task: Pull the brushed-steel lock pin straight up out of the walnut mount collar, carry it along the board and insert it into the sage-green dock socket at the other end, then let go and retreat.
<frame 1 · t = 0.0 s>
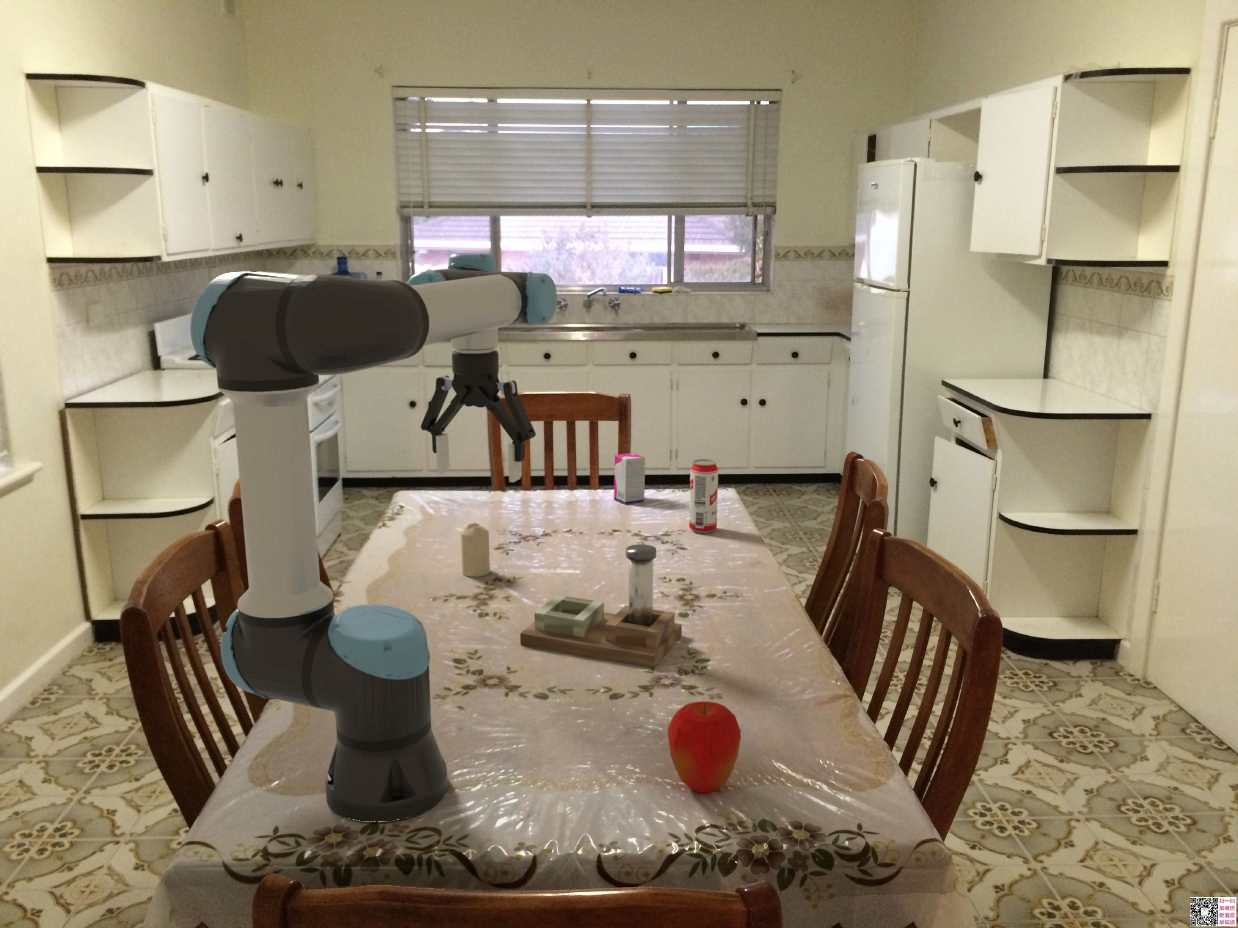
hand: (478, 476, 177), 28 cm above the table, fingers open, 13 cm apart
supplement box: (629, 501, 265), on the table
apple: (702, 787, 137), on the table
candle: (476, 573, 213), on the table
lock pin: (640, 635, 178), point 2 cm above the table, touching socket board
beer can: (702, 531, 241), on the table
socket board: (601, 639, 181), on the table
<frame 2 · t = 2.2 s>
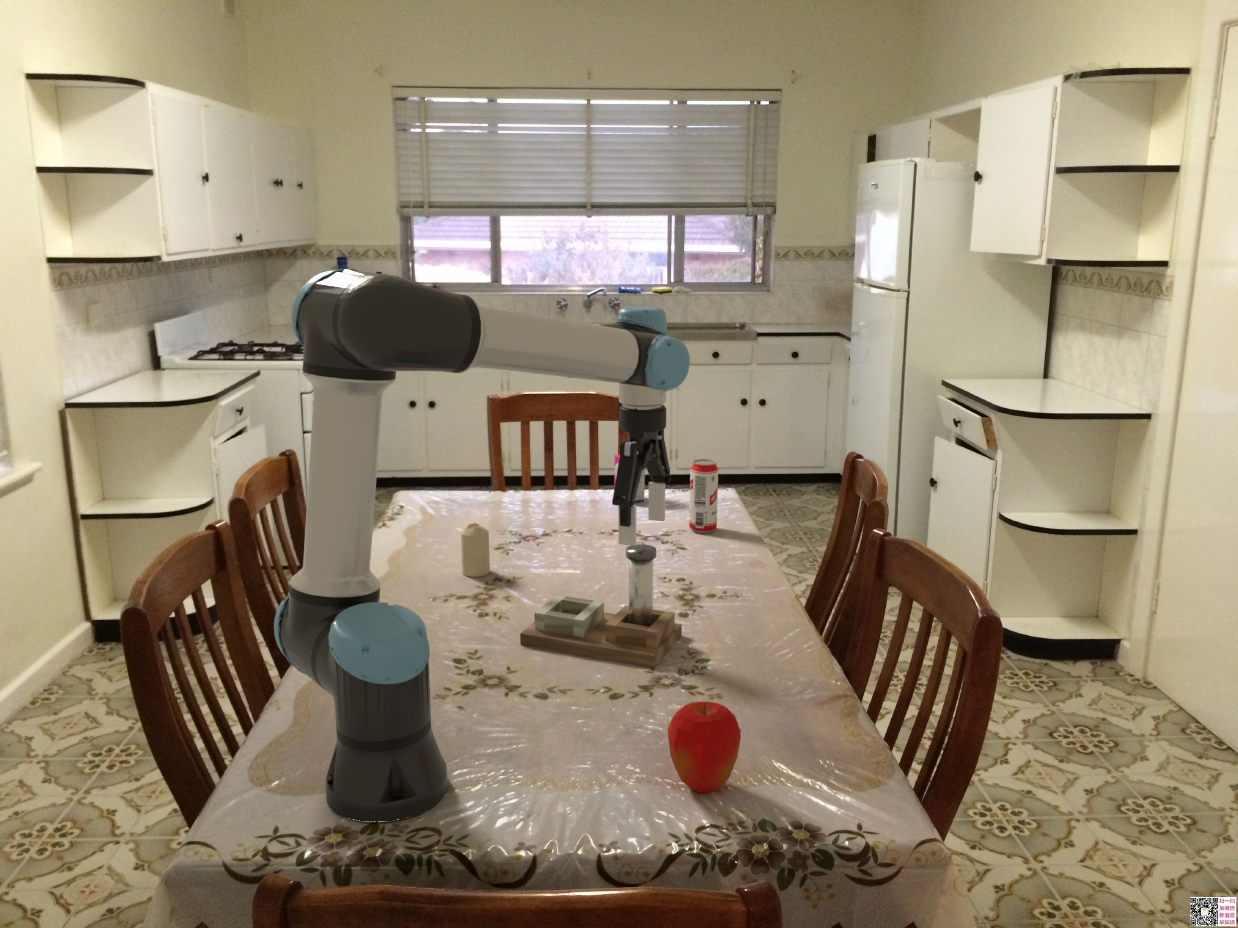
hand: (642, 531, 174), 20 cm above the table, fingers open, 13 cm apart
nothing on the table moved.
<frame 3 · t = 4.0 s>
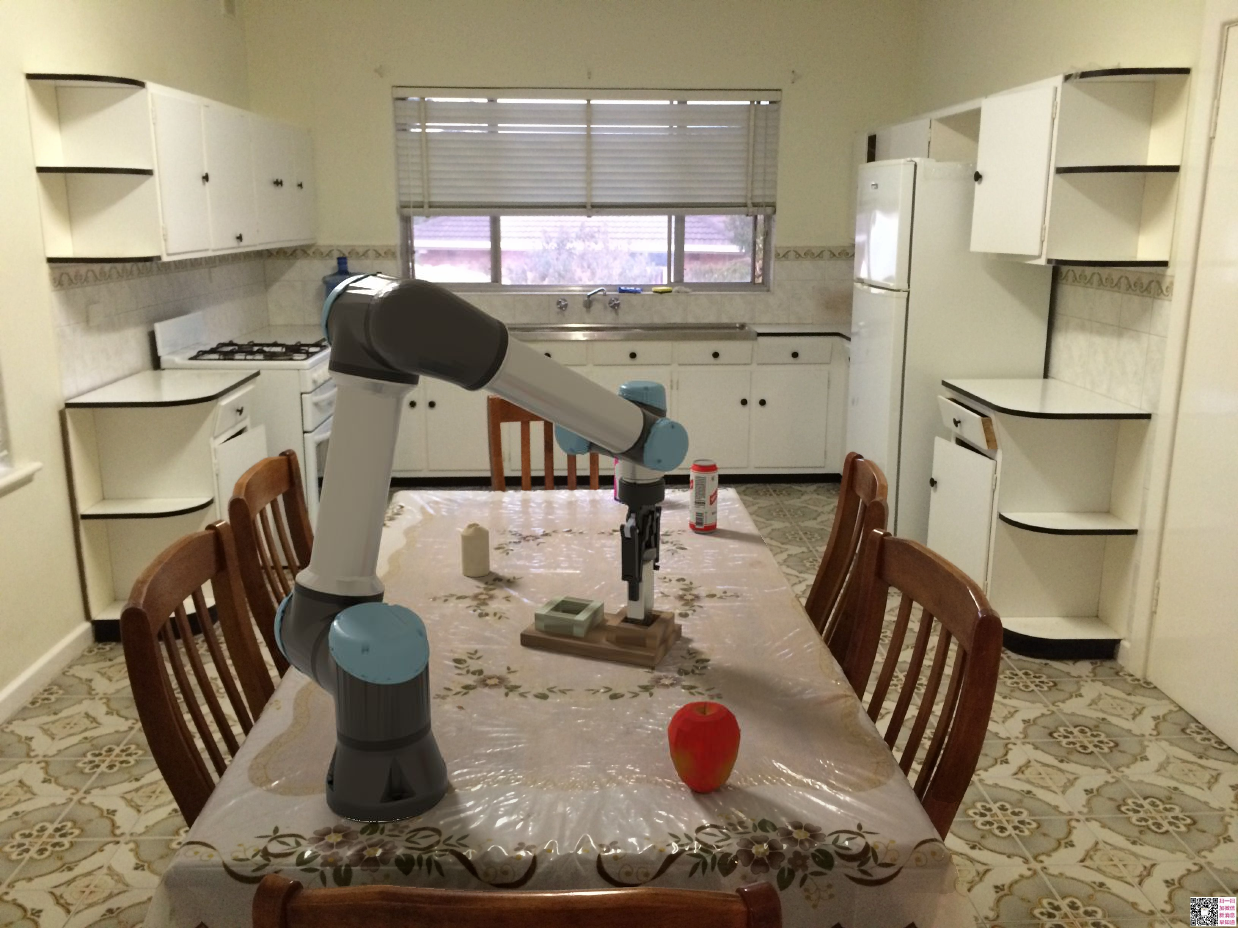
hand: (640, 612, 177), 6 cm above the table, fingers closed on lock pin, 4 cm apart
lock pin: (640, 635, 178), point 2 cm above the table, touching gripper, socket board
everything else where it was.
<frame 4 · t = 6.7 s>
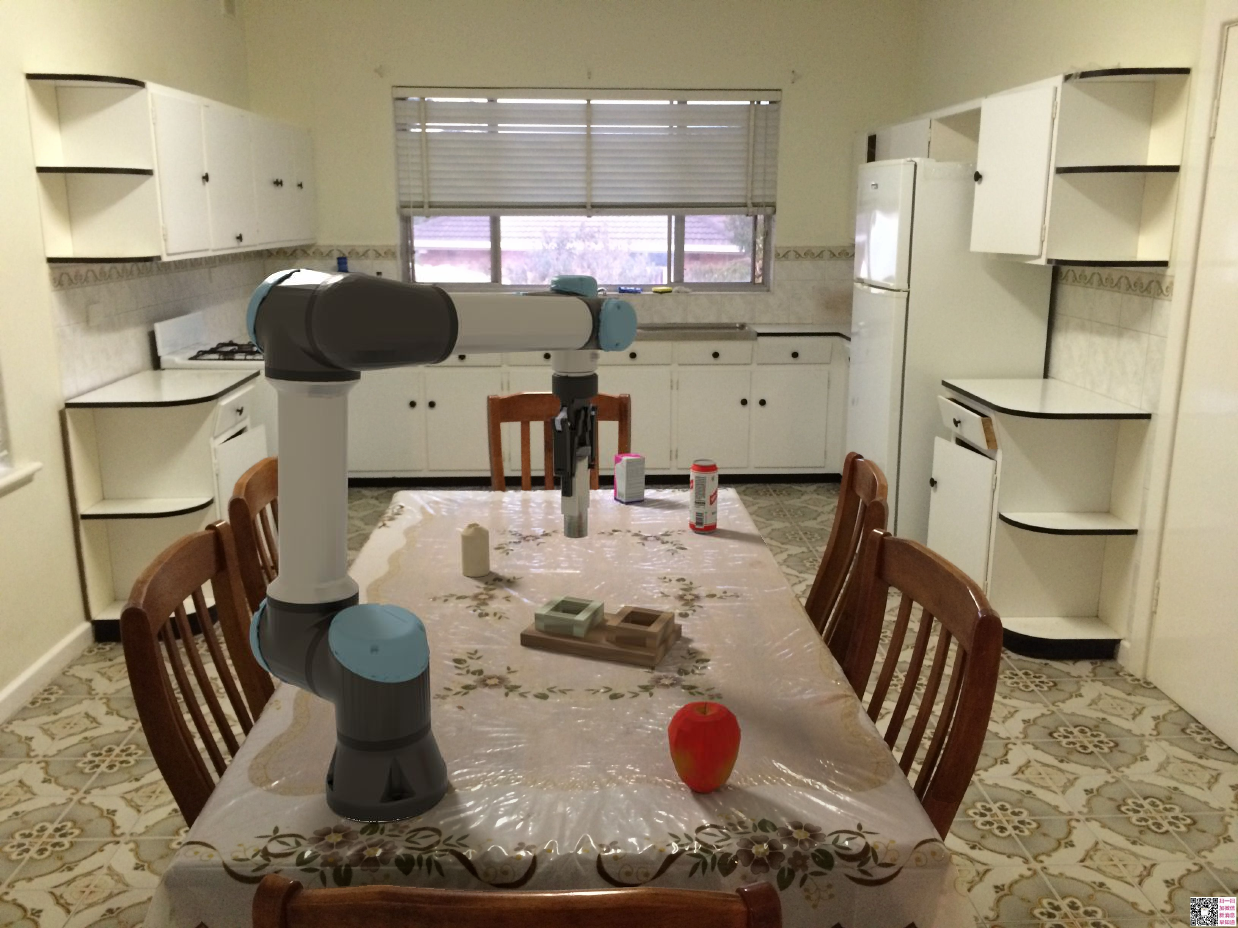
hand: (575, 510, 177), 23 cm above the table, fingers closed on lock pin, 4 cm apart
lock pin: (575, 534, 178), point 18 cm above the table, touching gripper
everything else where it was.
when the fingers open (7 cm above the table, at t = 9.4 s): lock pin stays where it is, resting on socket board.
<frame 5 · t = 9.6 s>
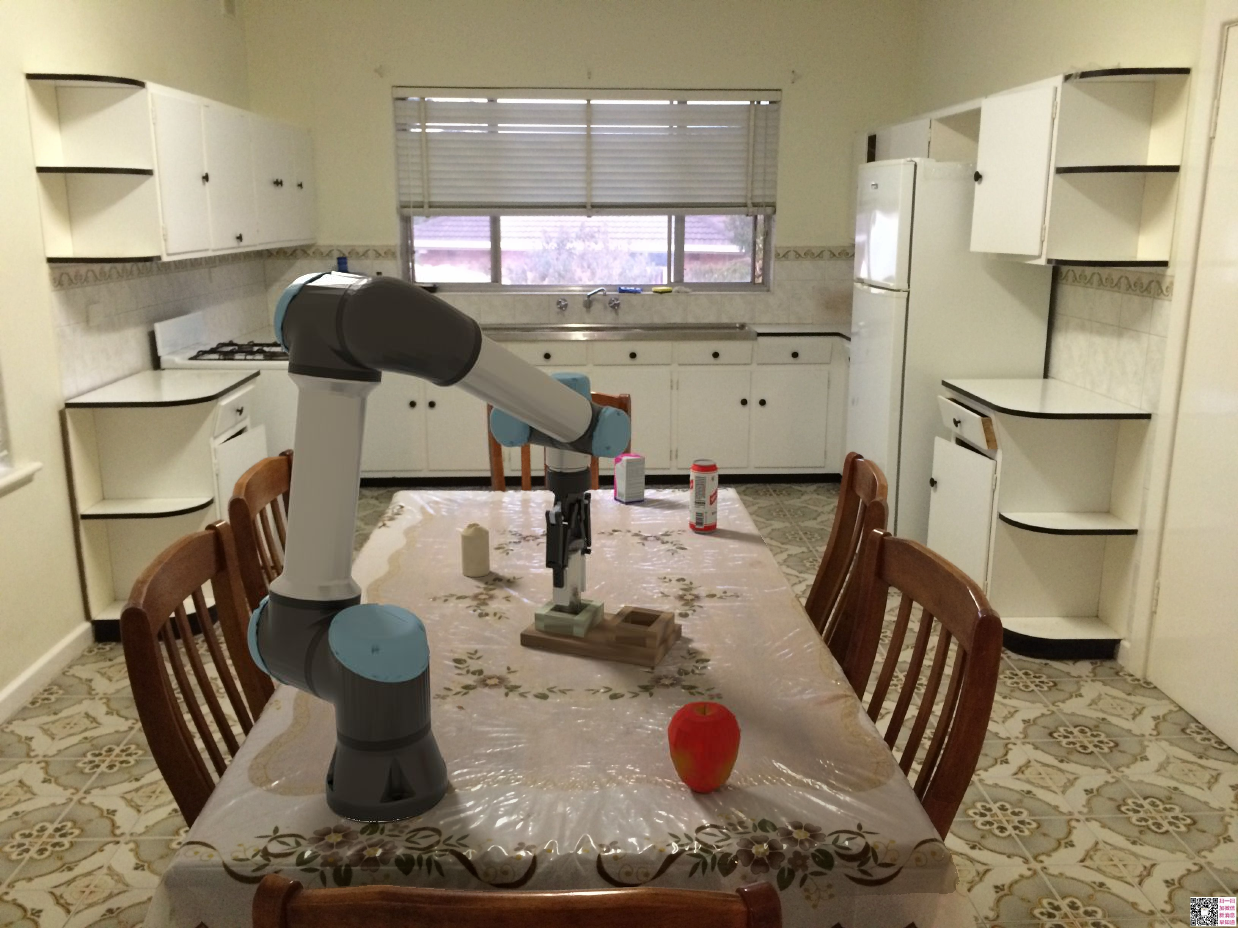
hand: (569, 596, 182), 7 cm above the table, fingers open, 6 cm apart
lock pin: (569, 623, 183), point 2 cm above the table, touching socket board
everything else where it was.
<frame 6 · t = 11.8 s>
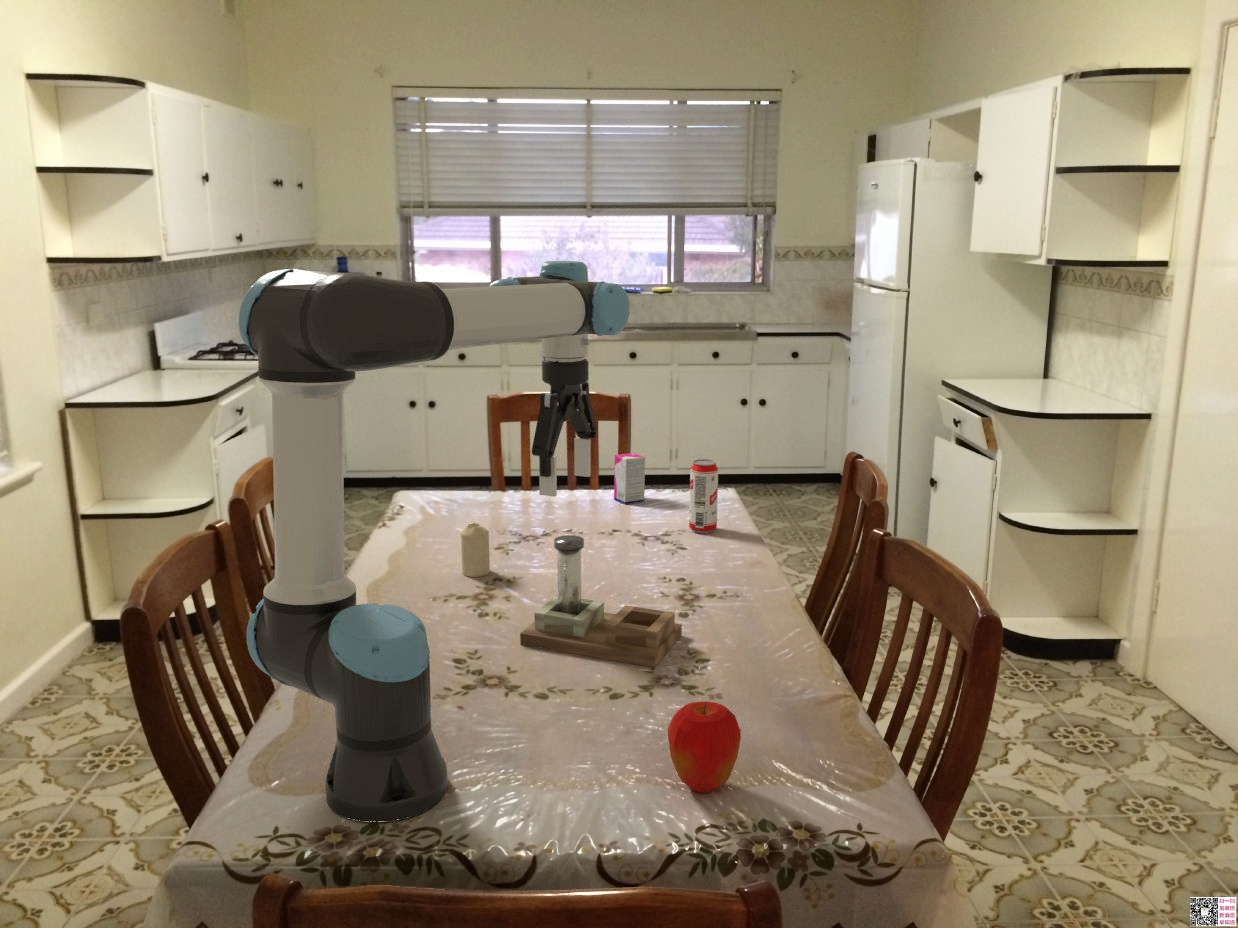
hand: (565, 485, 177), 27 cm above the table, fingers open, 13 cm apart
nothing on the table moved.
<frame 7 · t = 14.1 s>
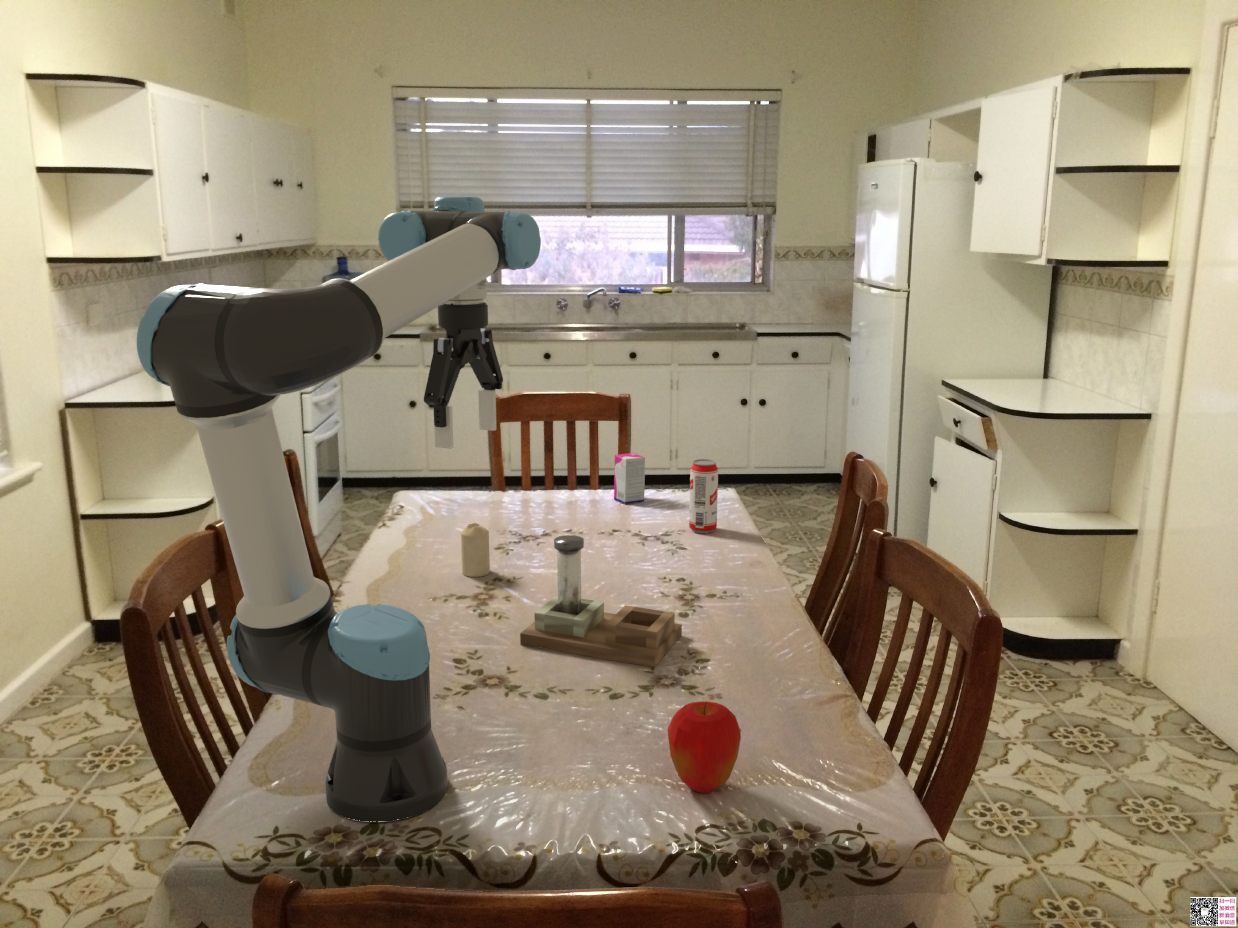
hand: (467, 438, 166), 37 cm above the table, fingers open, 13 cm apart
nothing on the table moved.
at the end: lock pin 0.1 cm from the target spot on the socket board, point 2.0 cm above the socket board's base; lock pin tilted 0°; the gripper is holding nothing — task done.
